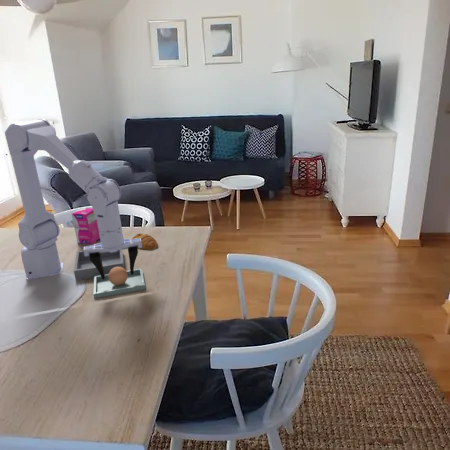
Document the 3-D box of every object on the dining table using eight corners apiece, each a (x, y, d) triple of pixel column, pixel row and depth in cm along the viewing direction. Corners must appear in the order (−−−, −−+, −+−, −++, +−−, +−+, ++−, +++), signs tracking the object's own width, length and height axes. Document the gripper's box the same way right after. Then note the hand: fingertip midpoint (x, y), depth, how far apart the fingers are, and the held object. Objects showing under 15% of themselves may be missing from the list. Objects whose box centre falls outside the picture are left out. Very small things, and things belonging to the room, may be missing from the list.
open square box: (76, 282, 115) (73, 271, 114) (78, 261, 127) (76, 251, 126) (125, 274, 118) (123, 263, 117) (123, 255, 130) (121, 244, 129)
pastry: (163, 247, 135) (162, 236, 133) (147, 254, 130) (145, 243, 129) (145, 240, 140) (143, 230, 139) (129, 247, 136) (127, 237, 134)
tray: (94, 300, 105) (93, 294, 105) (95, 281, 114) (94, 276, 114) (145, 290, 108) (144, 285, 108) (142, 273, 117) (141, 268, 117)
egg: (110, 290, 108) (107, 273, 107) (109, 281, 113) (106, 265, 111) (129, 286, 110) (127, 270, 108) (127, 278, 114) (125, 262, 112)
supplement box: (77, 244, 140) (70, 213, 135) (87, 237, 145) (81, 207, 141) (91, 246, 138) (85, 214, 134) (101, 239, 143) (96, 208, 139)
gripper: (79, 238, 100) (89, 287, 105) (140, 229, 103) (146, 277, 108) (81, 228, 106) (90, 274, 111) (137, 220, 110) (144, 265, 115)
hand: (117, 275), depth 110 cm, fingers open, 7 cm apart
